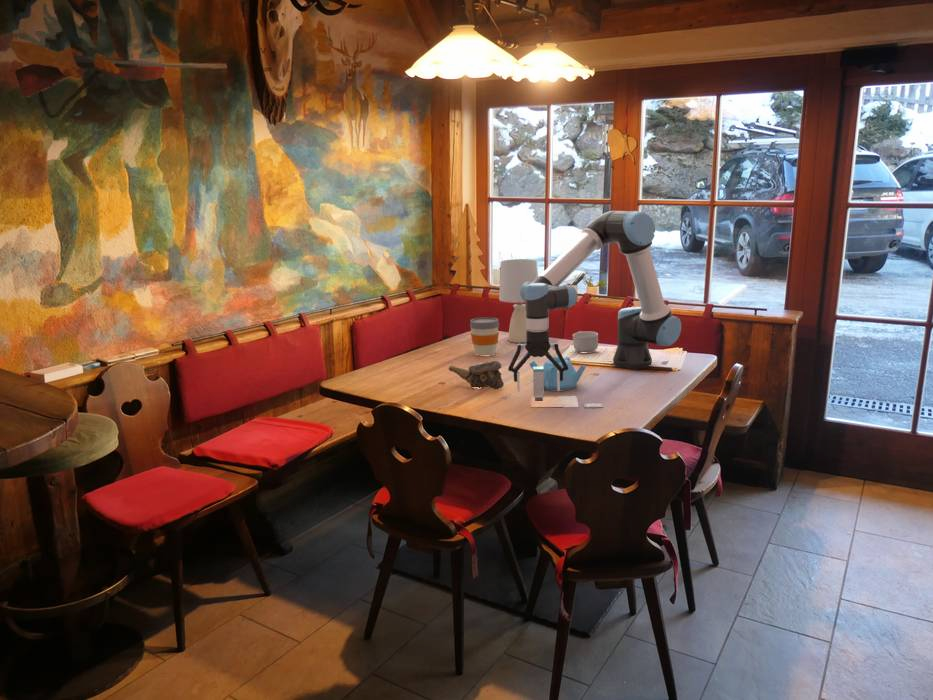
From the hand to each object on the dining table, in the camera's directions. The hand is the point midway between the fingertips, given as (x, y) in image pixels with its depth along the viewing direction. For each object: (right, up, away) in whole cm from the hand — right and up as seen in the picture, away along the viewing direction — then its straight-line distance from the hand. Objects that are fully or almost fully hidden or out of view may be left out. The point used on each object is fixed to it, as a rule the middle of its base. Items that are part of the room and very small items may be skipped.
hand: (538, 390), depth 260 cm
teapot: (+8, 0, +18) cm, 20 cm away
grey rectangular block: (0, -3, +1) cm, 4 cm away
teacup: (+27, +13, +69) cm, 75 cm away
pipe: (-21, 0, +20) cm, 29 cm away
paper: (+5, -4, -2) cm, 7 cm away
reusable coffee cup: (-16, +12, +71) cm, 73 cm away
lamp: (0, +18, +94) cm, 95 cm away
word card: (+18, -5, -7) cm, 20 cm away
